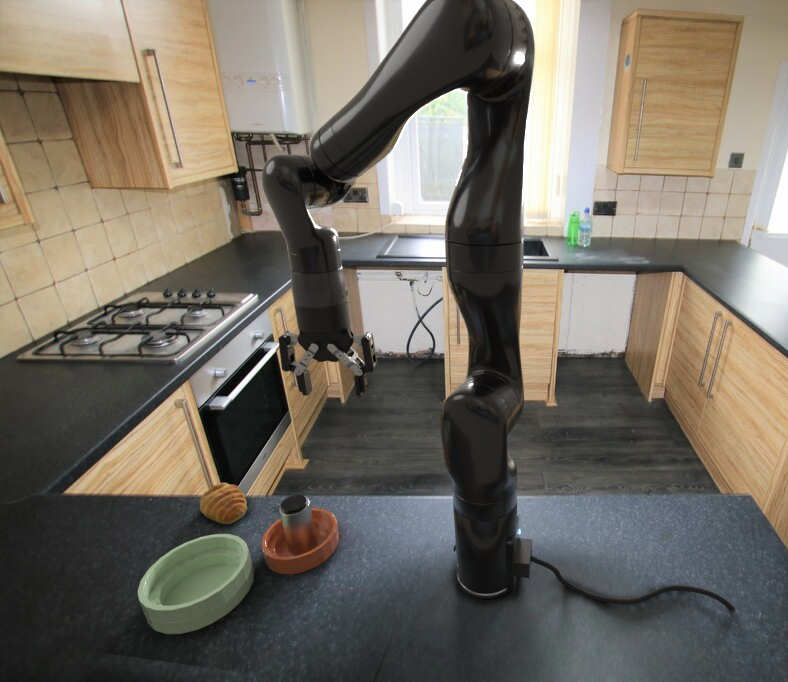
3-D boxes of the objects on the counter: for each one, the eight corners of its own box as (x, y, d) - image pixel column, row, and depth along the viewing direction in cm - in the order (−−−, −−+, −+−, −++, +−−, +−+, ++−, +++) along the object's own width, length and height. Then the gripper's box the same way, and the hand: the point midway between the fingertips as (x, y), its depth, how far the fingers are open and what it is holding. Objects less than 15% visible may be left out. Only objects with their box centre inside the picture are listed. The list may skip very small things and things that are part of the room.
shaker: (322, 537, 79) (314, 494, 76) (308, 558, 75) (299, 513, 72) (298, 535, 80) (288, 491, 76) (283, 555, 76) (272, 510, 72)
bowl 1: (273, 562, 75) (267, 537, 73) (212, 643, 63) (203, 616, 61) (197, 553, 77) (189, 529, 75) (122, 631, 64) (111, 604, 62)
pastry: (258, 511, 86) (254, 495, 84) (219, 534, 81) (213, 516, 79) (235, 491, 91) (230, 475, 90) (197, 510, 86) (191, 494, 85)
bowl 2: (351, 527, 82) (348, 511, 81) (318, 580, 72) (314, 563, 70) (291, 521, 83) (287, 505, 82) (250, 572, 73) (245, 555, 72)
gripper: (260, 304, 67) (280, 405, 73) (361, 306, 67) (372, 405, 73) (283, 290, 74) (299, 382, 80) (375, 291, 74) (383, 383, 80)
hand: (334, 393), depth 76 cm, fingers open, 8 cm apart
